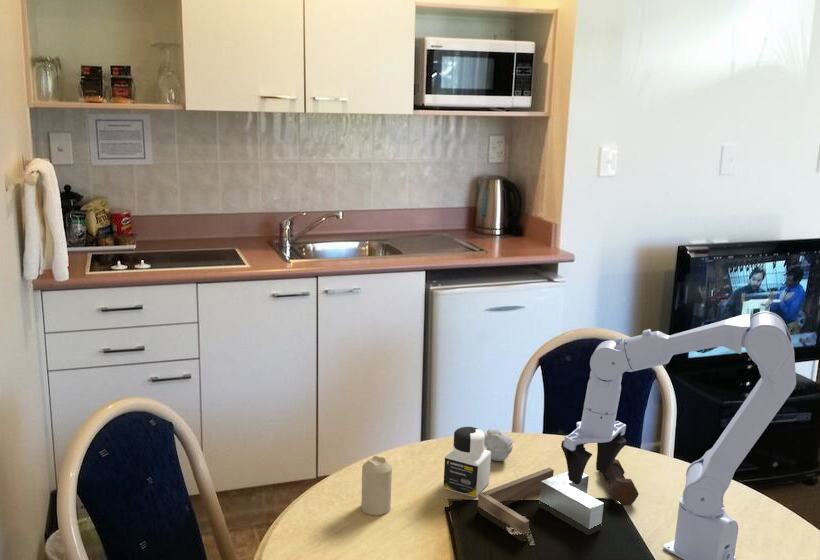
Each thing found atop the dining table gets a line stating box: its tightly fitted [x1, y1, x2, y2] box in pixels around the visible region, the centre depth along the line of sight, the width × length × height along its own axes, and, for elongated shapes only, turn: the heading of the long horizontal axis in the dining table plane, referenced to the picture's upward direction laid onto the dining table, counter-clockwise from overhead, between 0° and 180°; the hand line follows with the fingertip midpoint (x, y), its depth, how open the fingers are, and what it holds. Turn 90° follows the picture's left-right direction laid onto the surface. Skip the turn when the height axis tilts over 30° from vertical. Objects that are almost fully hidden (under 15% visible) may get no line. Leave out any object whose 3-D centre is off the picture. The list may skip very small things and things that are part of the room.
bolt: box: [601, 458, 639, 506], centre depth 156 cm, size 6×5×15 cm
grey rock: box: [484, 428, 514, 462], centre depth 165 cm, size 6×7×7 cm
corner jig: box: [477, 467, 555, 535], centre depth 145 cm, size 12×19×4 cm, turn 127°
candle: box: [361, 455, 393, 516], centre depth 144 cm, size 6×6×10 cm
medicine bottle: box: [442, 426, 492, 498], centre depth 153 cm, size 7×7×12 cm
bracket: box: [539, 470, 605, 529], centre depth 145 cm, size 12×10×6 cm
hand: (588, 476), depth 139 cm, fingers open, 7 cm apart
